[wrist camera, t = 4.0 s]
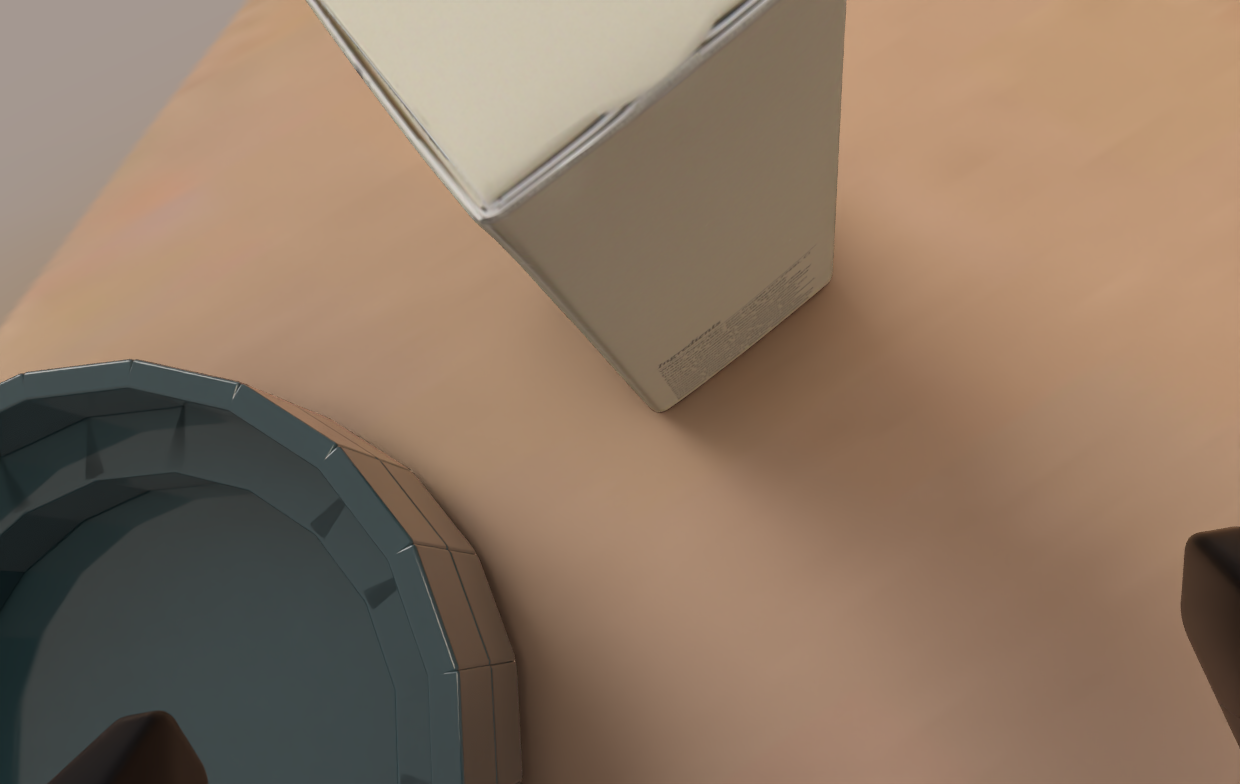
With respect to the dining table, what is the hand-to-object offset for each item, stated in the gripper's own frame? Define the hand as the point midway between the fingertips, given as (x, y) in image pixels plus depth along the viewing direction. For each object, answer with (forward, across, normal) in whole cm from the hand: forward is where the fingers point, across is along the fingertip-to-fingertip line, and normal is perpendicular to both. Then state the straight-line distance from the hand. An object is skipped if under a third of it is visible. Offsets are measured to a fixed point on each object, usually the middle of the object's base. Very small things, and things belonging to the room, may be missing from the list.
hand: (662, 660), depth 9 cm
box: (+15, 0, +4) cm, 15 cm away
